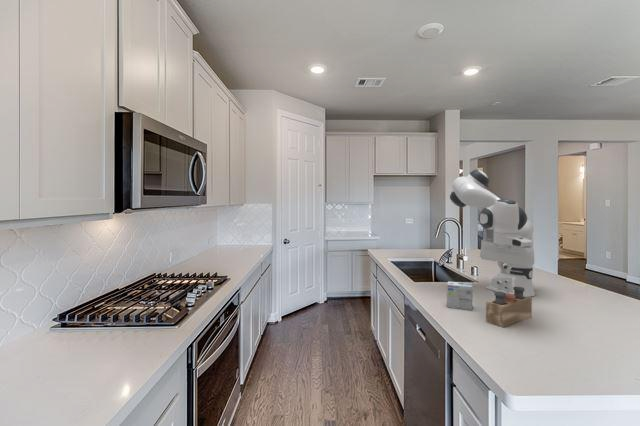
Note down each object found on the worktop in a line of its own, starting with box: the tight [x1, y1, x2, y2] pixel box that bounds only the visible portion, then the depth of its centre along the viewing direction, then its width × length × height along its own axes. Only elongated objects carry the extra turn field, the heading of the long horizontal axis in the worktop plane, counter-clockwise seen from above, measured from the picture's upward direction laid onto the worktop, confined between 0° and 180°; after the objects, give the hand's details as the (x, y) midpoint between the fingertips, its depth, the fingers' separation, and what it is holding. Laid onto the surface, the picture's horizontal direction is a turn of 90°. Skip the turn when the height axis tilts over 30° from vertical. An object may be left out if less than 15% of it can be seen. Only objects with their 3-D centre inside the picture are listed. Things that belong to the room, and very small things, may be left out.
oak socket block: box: [485, 294, 533, 328], centre depth 132 cm, size 7×21×8 cm, turn 121°
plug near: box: [493, 291, 506, 305], centre depth 128 cm, size 4×4×8 cm
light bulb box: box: [446, 281, 473, 311], centre depth 148 cm, size 11×7×11 cm, turn 65°
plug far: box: [513, 287, 524, 300], centre depth 135 cm, size 4×4×8 cm
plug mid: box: [505, 294, 515, 302], centre depth 132 cm, size 4×4×8 cm
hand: (505, 273), depth 130 cm, fingers closed
